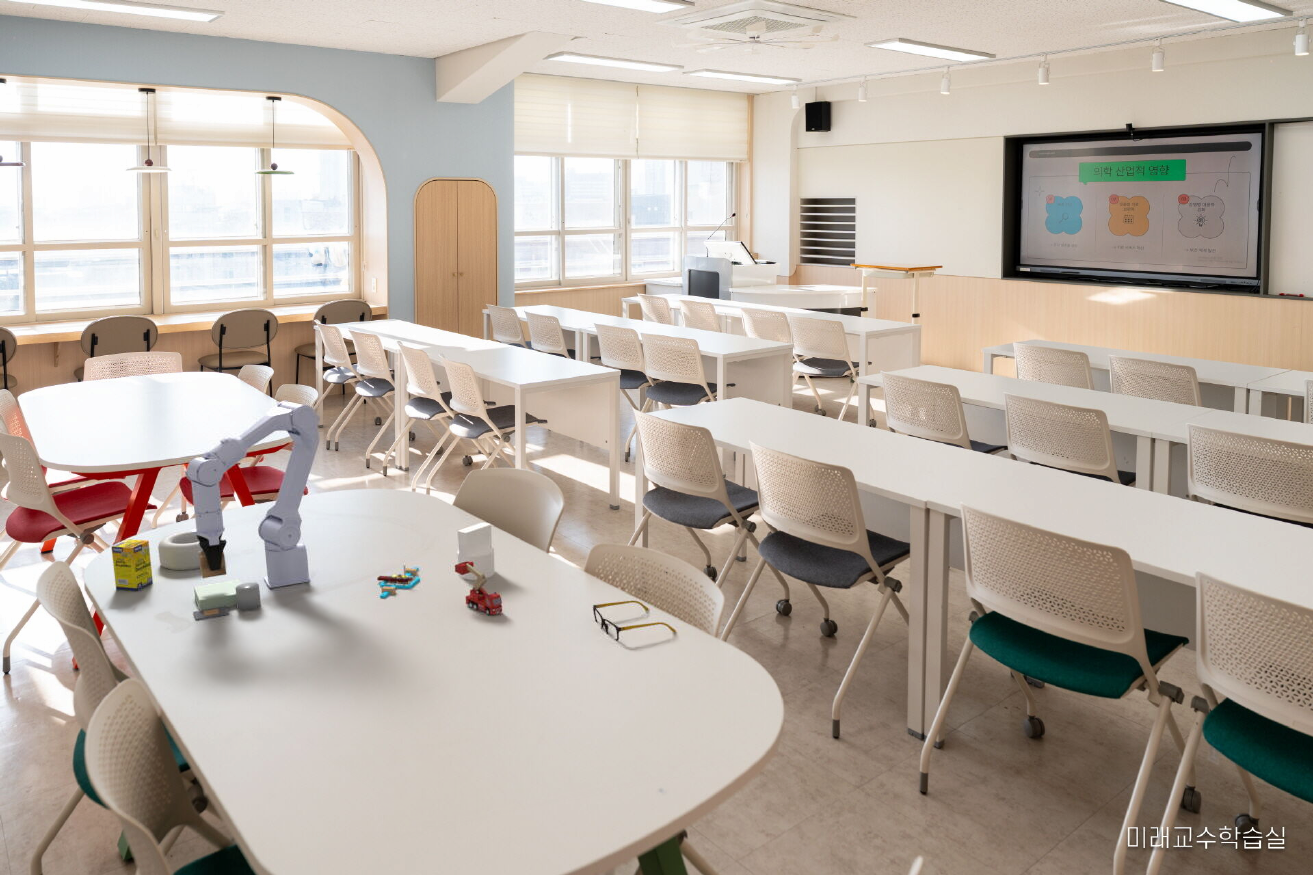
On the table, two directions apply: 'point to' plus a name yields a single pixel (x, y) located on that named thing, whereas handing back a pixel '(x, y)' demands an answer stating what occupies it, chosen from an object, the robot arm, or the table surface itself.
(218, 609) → the card
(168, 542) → the donut shape
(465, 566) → the toy fire truck
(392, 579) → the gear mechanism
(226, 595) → the sage slab
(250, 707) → the table surface
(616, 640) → the eyeglasses
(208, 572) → the walnut cube
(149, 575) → the supplement box
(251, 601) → the grey cylinder
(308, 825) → the table surface
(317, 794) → the table surface
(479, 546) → the base with upright slab
